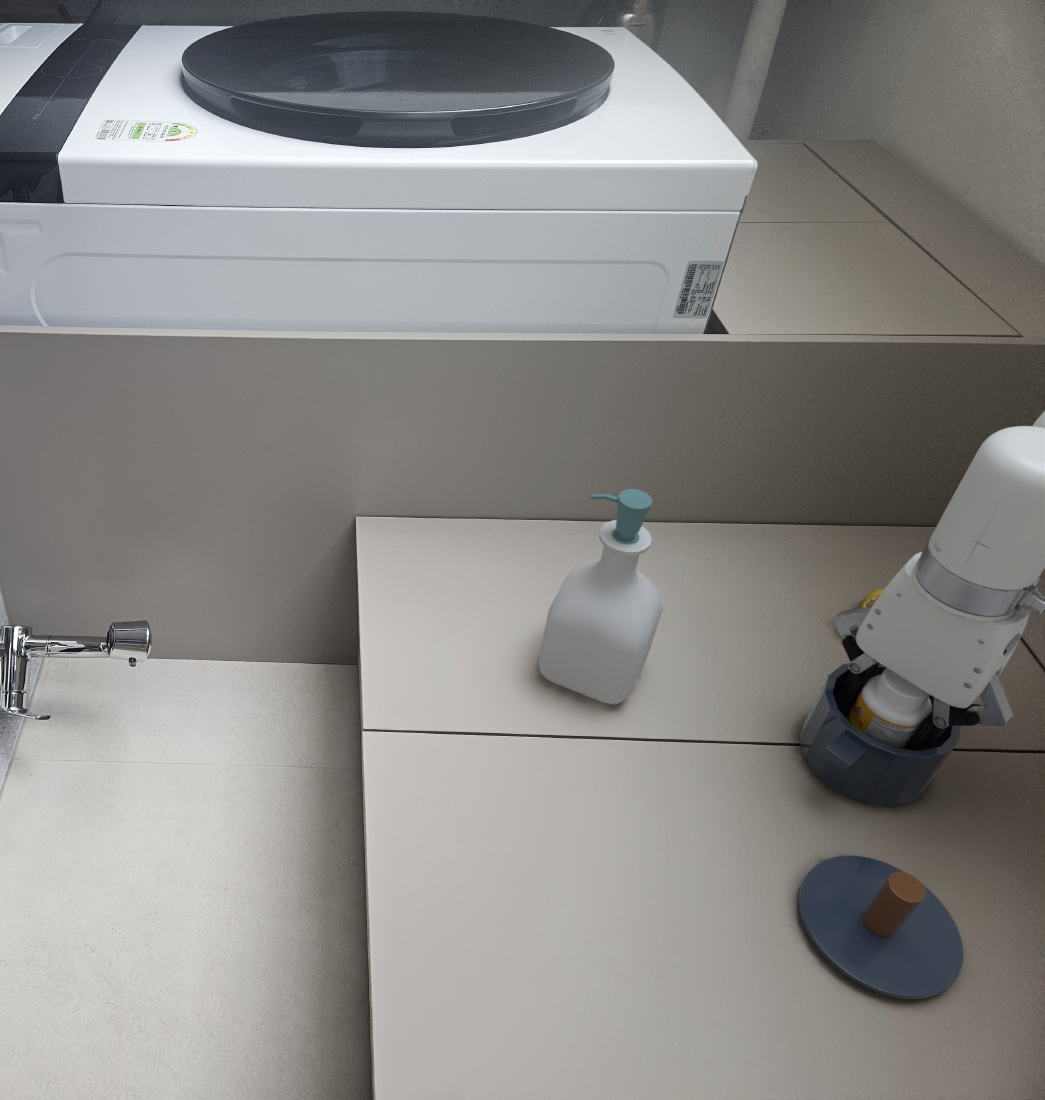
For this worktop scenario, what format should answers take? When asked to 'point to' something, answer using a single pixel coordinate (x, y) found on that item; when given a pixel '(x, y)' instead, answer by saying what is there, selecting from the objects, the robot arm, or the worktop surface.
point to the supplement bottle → (890, 709)
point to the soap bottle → (605, 611)
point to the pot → (866, 752)
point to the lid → (880, 927)
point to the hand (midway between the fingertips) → (885, 718)
